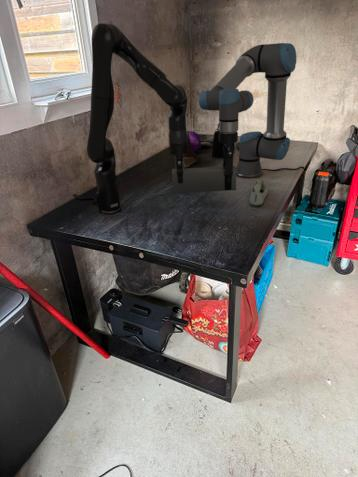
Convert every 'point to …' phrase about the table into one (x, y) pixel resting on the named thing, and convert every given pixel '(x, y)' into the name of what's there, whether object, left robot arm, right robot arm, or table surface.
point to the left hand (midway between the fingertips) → (180, 180)
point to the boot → (189, 155)
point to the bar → (202, 180)
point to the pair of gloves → (207, 141)
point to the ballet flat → (258, 193)
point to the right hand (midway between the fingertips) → (227, 187)
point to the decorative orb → (194, 140)
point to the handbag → (218, 145)
